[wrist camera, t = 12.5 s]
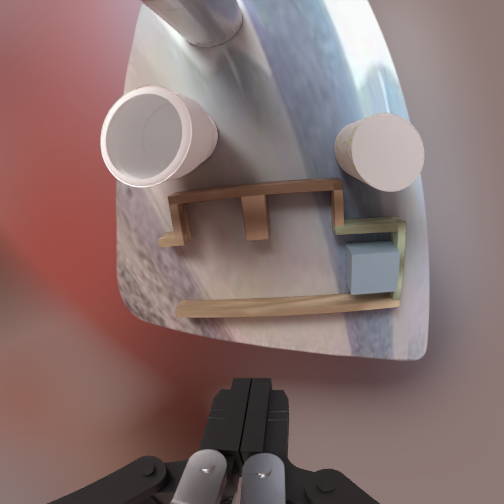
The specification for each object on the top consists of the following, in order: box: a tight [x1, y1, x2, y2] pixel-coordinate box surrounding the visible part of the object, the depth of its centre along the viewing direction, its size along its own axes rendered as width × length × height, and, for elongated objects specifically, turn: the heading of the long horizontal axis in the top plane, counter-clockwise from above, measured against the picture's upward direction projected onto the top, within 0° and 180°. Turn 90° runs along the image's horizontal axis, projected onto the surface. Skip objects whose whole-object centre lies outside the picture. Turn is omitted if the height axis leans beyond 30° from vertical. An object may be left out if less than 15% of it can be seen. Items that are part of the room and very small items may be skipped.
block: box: [346, 241, 400, 295], centre depth 41 cm, size 6×7×5 cm
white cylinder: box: [334, 113, 424, 192], centre depth 32 cm, size 8×8×12 cm
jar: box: [101, 85, 218, 187], centre depth 33 cm, size 11×10×15 cm
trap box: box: [158, 178, 406, 317], centre depth 42 cm, size 19×35×4 cm, turn 96°
